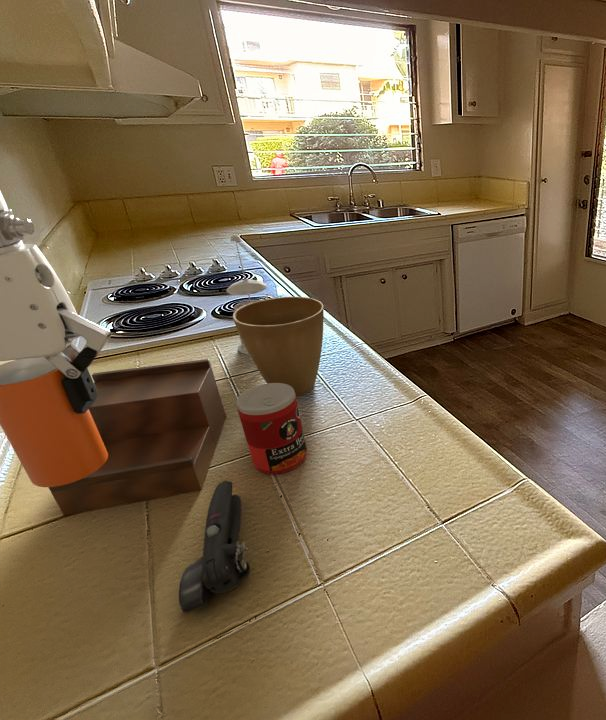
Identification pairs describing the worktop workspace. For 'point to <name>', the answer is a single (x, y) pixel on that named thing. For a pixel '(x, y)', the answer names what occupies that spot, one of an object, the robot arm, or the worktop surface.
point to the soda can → (47, 424)
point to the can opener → (216, 553)
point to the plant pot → (283, 339)
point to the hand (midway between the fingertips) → (43, 410)
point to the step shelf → (149, 435)
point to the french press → (245, 291)
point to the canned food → (272, 427)
